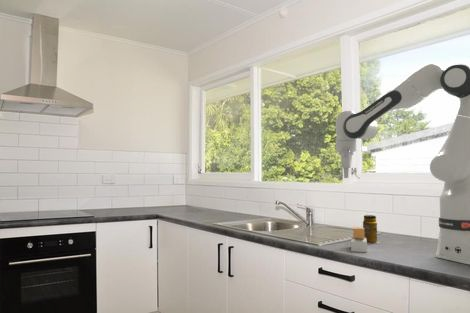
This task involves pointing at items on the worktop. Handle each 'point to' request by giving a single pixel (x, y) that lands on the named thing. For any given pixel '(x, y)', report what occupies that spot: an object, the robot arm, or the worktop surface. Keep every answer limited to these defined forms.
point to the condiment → (370, 229)
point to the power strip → (358, 244)
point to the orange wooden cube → (358, 232)
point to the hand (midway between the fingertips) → (346, 178)
